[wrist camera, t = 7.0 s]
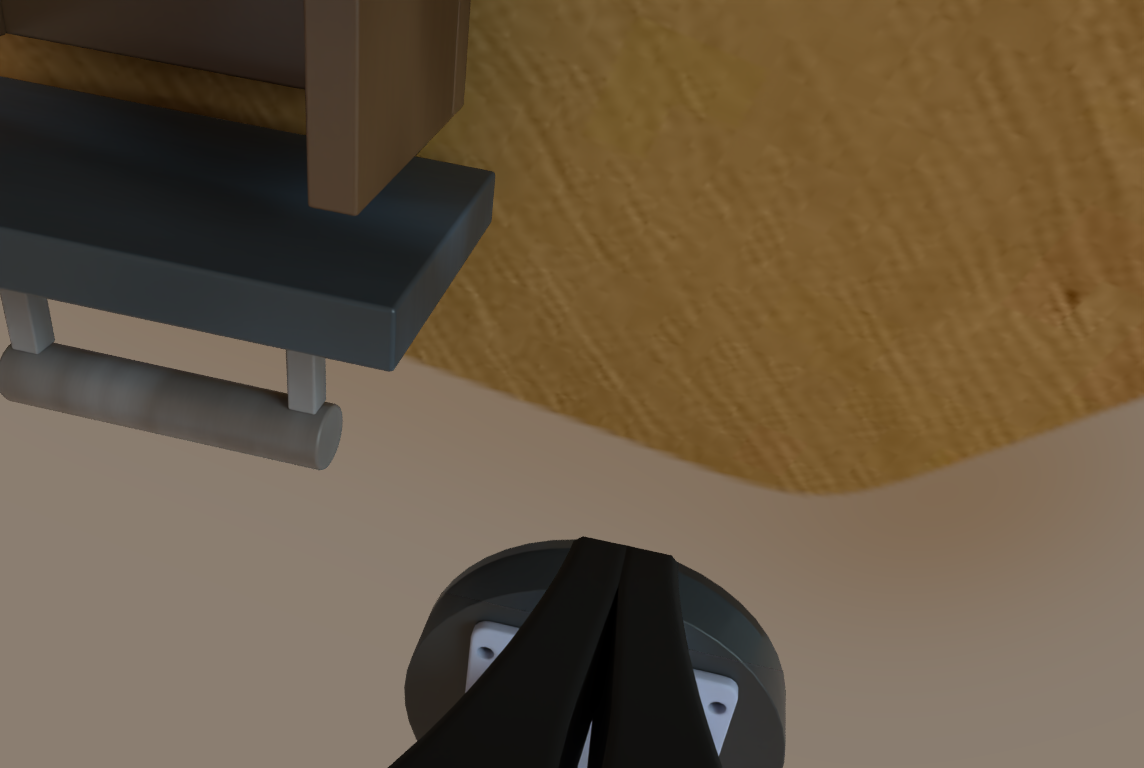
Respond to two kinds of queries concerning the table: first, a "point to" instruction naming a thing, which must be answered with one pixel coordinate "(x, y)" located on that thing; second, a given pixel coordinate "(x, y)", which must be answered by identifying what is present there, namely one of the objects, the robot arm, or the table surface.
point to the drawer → (235, 209)
